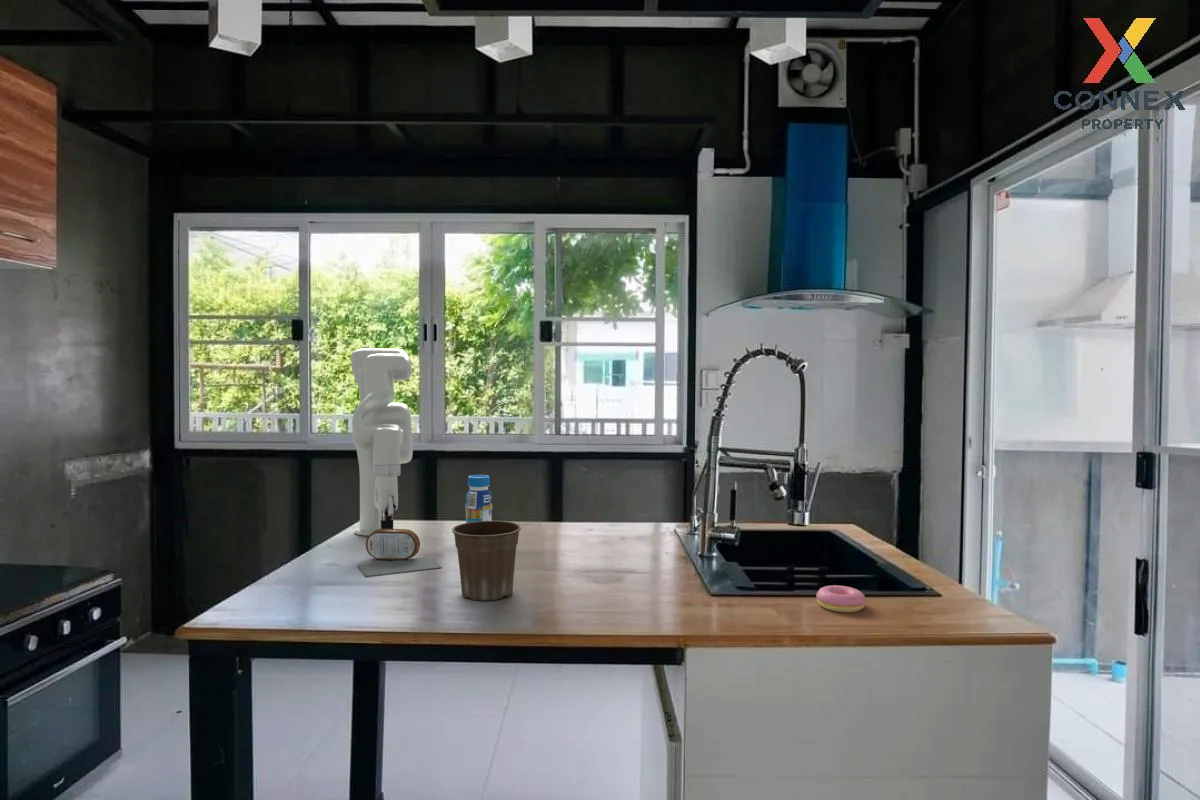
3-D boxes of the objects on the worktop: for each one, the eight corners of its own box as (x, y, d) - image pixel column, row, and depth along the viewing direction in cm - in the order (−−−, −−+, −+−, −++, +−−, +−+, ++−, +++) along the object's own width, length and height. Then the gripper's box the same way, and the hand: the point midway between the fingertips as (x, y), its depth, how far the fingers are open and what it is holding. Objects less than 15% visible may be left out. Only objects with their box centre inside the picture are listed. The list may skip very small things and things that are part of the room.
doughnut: (833, 616, 167) (834, 598, 167) (806, 601, 178) (807, 584, 178) (875, 612, 170) (876, 594, 170) (846, 598, 181) (847, 581, 181)
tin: (420, 558, 211) (420, 528, 211) (416, 560, 208) (416, 530, 208) (368, 557, 213) (368, 528, 213) (364, 560, 210) (364, 530, 210)
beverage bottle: (462, 537, 239) (462, 474, 238) (487, 535, 243) (488, 473, 242) (469, 543, 232) (469, 478, 231) (495, 540, 235) (495, 477, 234)
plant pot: (454, 606, 171) (454, 536, 170) (449, 586, 186) (449, 521, 186) (525, 601, 175) (526, 532, 174) (514, 582, 191) (515, 519, 190)
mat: (357, 565, 204) (357, 564, 204) (429, 557, 214) (429, 556, 214) (365, 577, 194) (365, 575, 194) (441, 568, 203) (441, 566, 203)
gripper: (368, 467, 220) (368, 529, 221) (379, 474, 207) (379, 540, 208) (394, 466, 224) (394, 527, 225) (406, 472, 211) (406, 537, 212)
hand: (387, 533), depth 216 cm, fingers closed
